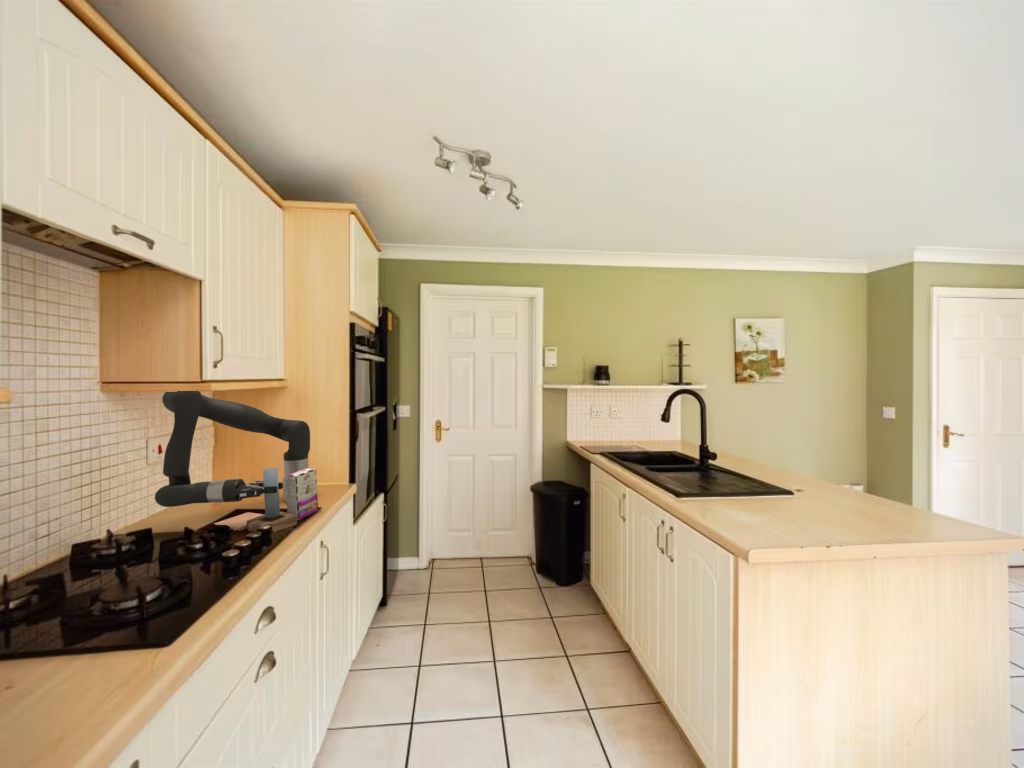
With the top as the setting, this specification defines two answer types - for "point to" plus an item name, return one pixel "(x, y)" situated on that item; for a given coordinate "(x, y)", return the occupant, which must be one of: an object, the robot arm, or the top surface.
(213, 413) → the robot arm
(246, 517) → the terracotta tile
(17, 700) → the top surface
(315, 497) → the candy bar box
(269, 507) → the slate peg
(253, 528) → the pocket block
